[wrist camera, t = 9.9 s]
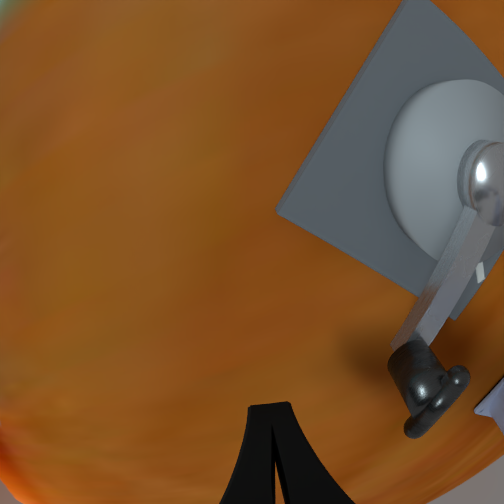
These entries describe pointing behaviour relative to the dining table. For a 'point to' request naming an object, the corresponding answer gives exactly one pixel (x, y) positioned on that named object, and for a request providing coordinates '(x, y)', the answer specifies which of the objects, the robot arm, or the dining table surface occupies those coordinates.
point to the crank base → (358, 145)
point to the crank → (448, 291)
